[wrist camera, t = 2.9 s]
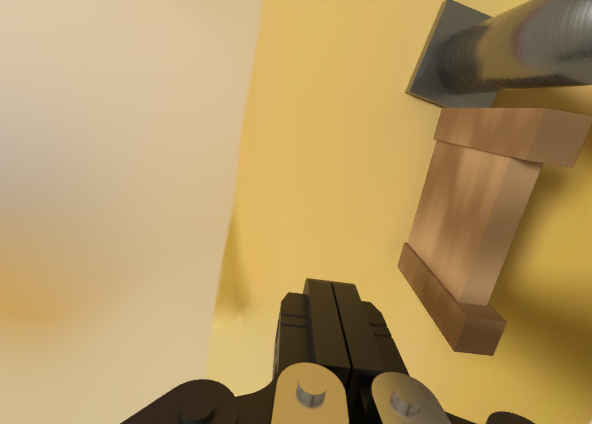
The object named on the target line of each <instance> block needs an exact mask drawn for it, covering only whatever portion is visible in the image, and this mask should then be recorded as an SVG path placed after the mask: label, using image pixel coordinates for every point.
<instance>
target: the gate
mask: <svg viewBox="0 0 592 424" xmlns="http://www.w3.org/2000/svg"><path fill="white" fill-rule="evenodd" d="M591 124H592V116H590V115H584V114H578V113H572V112H566V111H560V110H554V109H548V108H442V110H441V114H440V117H439V121H438V124H437V128H436V131H435V135H434V139H435V140H437V141H436V145H435V148H434V152H433V155H432V159H431V162H430V166H429V170H428V173H427V177H426V180H425V184H424V187H423V191H422V194H421V198H420V201H419V205H418V208H417V212H416V215H415V219H414V222H413V226H412V229H411V233H410V236H409V240H408V243H405V242H404V245H403V249H402V253H401V256H400V260H399V263H398V268H399V270H400V271H401V273H402V274H403V276H404V277H405V279H406V280H407V282H408V283H409V285H410V286H411V288H412V289H413V291H414V292H415V294H416V295H417V297H418V298H419V300H420V301H421V303H422V304H423V306H424V307H425V309H426V310H427V312H428V313H429V315H430V316H431V318H432V319H433V321H434V322H435V324H436V325H437V327H438V328H439V330H440V331H441V333H442V334H443V336H444V337H445V339H446V340H447V342H448V343H449V345H450V346H451V348H452V349H453V351H455V352H463V353H472V354H480V355H489V356H493V354H494V352H495V349H496V347H497V345H498V342H499V340H500V338H501V335H502V333H503V331H504V328H505V326H506V324H507V322H506V321H505V320H504V319H503V318H502V317H501V316H500V315H499V314H498V313H497V312H496V311H495V310H494V309H493V308H492V307H491V306H490V305H489V304H488V302H489V299H490V296H491V294H492V291H493V289H494V286H495V284H496V281H497V279H498V276H499V274H500V271H501V269H502V266H503V264H504V261H505V259H506V256H507V253H508V251H509V248H510V246H511V243H512V241H513V238H514V236H515V233H516V231H517V228H518V226H519V223H520V221H521V218H522V215H523V213H524V210H525V208H526V205H527V203H528V200H529V198H530V195H531V193H532V190H533V188H534V185H535V183H536V180H537V177H538V175H539V172H540V170H541V167H542V165H543V163H548V164H554V165H560V166H567V167H573V166H574V164H575V162H576V159H577V157H578V155H579V152H580V150H581V147H582V145H583V143H584V140H585V138H586V136H587V133H588V131H589V129H590V126H591Z"/></svg>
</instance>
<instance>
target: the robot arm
mask: <svg viewBox="0 0 592 424" xmlns="http://www.w3.org/2000/svg"><path fill="white" fill-rule="evenodd" d="M120 424H476V423H473V422H470V421H468V420H465V419H462V418H460V417H457V416H455V415H452V414H450V413H447V412H445V411H444V410H443V408H442V407H441V405H440V403H439V402H438V400H437V398H436V397H435V396H434V394H433V393H432V392H431V391H430V390H429V389H428V388H427V387H426V386H425V385H423V384H422V383H421V382H419V381H418V380H416V379H414V378H412V377H410V376H409V373H408V371H407V369H406V367H405V365H404V362H403V360H402V358H401V356H400V353H399V351H398V349H397V347H396V345H395V342H394V340H393V338H391V333H390V331H389V329H388V328H387V325H386V322H385V320H384V318H383V316H382V313H381V312H380V311H379V310H378V309H377V308H376V307H375V306H374V305H373V304H372V303H371V302H365V301H361V299H360V297H359V294H358V291H357V289H356V286H355V284H350V283H342V282H334V281H331V282H330V281H325V280H317V279H309V278H307V279H306V281H305V286H304V291H303V294H299V293H291V292H289V293H288V294H287V295H286V296H285V297H284V299H283V300H282V301H281V307H280V313H279V320H278V326H277V333H276V339H275V348H274V363H273V378H272V382H271V383H270V384H269V385H267V386H266V387H265V388H263V389H261V390H259V391H257V392H255V393H251V394H247V395H242V396H237V397H235V396H234V395H233V393H232V392H231V391H230V390H229V388H227V387H226V386H225V385H223V384H221V383H219V382H216V381H213V380H207V379H199V380H193V381H189V382H186V383H183V384H181V385H179V386H177V387H175V388H174V389H172V390H171V391H169V392H168V393H166V394H165V395H163V396H161V397H160V398H158V399H157V400H155V401H154V402H152V403H151V404H149V405H148V406H147V407H145V408H143V409H142V410H140V411H139V412H137V413H136V414H134V415H133V416H131V417H130V418H128V419H127V420H125V421H123V422H122V423H120ZM486 424H535V423H533V422H532V421H530V420H528V419H526V418H524V417H522V416H519V415H517V414H514V413H510V412H502V411H500V412H495V413H492V414H491V415H490V416H489V417H488V419H487V421H486Z"/></svg>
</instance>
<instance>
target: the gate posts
mask: <svg viewBox="0 0 592 424" xmlns="http://www.w3.org/2000/svg"><path fill="white" fill-rule="evenodd" d="M584 85H592V0H531V1H528V2H526V3H524V4H522V5H519V6H517V7H515V8H513V9H510V10H508V11H506V12H504V13H501V14H499V15H497V16H495V17H491V16H489V15H486V14H484V13H481V12H479V11H477V10H474V9H472V8H469V7H467V6H465V5H462V4H460V3H458V2H455V1H453V0H445V1H444V2H443V3H442V5H441V7H440V10H439V12H438V15H437V17H436V19H435V22H434V24H433V27H432V29H431V31H430V34H429V36H428V39H427V41H426V43H425V46H424V48H423V51H422V53H421V56H420V58H419V60H418V63H417V65H416V68H415V70H414V72H413V75H412V77H411V80H410V82H409V84H408V87H407V89H406V92H405V93H408V94H410V95H413V96H416V97H418V98H421V99H424V100H426V101H429V102H432V103H434V104H437V105H440V106H442V107H445V108H490V107H491V105H492V103H493V101H494V99H495V97H496V95H497V93H498V92H503V91H517V90H530V89H544V88H557V87H571V86H584Z"/></svg>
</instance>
